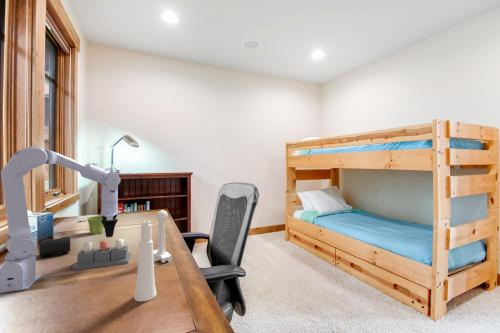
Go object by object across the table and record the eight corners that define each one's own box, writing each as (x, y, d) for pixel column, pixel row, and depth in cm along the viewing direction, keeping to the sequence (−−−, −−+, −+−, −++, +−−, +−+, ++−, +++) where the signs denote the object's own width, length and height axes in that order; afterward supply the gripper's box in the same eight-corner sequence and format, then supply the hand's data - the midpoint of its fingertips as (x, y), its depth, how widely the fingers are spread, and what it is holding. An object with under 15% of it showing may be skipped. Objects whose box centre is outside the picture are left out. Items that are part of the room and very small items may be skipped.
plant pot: (88, 231, 136) (88, 216, 136) (107, 230, 140) (107, 215, 140) (84, 236, 128) (85, 219, 128) (105, 234, 132) (105, 218, 132)
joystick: (173, 260, 96) (174, 211, 96) (155, 266, 90) (156, 213, 90) (159, 253, 103) (160, 207, 103) (142, 258, 98) (143, 210, 98)
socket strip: (127, 263, 92) (127, 251, 92) (72, 270, 86) (72, 256, 86) (130, 255, 101) (130, 243, 101) (80, 260, 95) (80, 248, 95)
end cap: (39, 259, 95) (39, 243, 95) (41, 254, 101) (41, 238, 101) (70, 254, 101) (70, 238, 101) (70, 249, 107) (70, 234, 107)
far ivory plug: (122, 252, 95) (123, 240, 95) (114, 253, 94) (115, 241, 94) (123, 249, 97) (124, 238, 97) (116, 250, 96) (116, 239, 96)
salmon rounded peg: (107, 253, 93) (107, 242, 93) (98, 254, 92) (99, 242, 92) (108, 251, 95) (108, 240, 95) (100, 252, 94) (100, 240, 94)
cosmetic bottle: (160, 295, 70) (161, 221, 70) (139, 304, 65) (140, 224, 65) (150, 288, 74) (151, 218, 74) (130, 296, 69) (131, 221, 69)
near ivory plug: (90, 255, 91) (90, 243, 91) (82, 256, 90) (82, 244, 90) (92, 253, 94) (92, 241, 94) (84, 253, 93) (84, 242, 93)
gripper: (121, 203, 93) (121, 237, 93) (120, 198, 105) (119, 229, 105) (100, 204, 89) (100, 240, 89) (101, 199, 101) (100, 231, 101)
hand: (109, 234), depth 97 cm, fingers open, 7 cm apart
